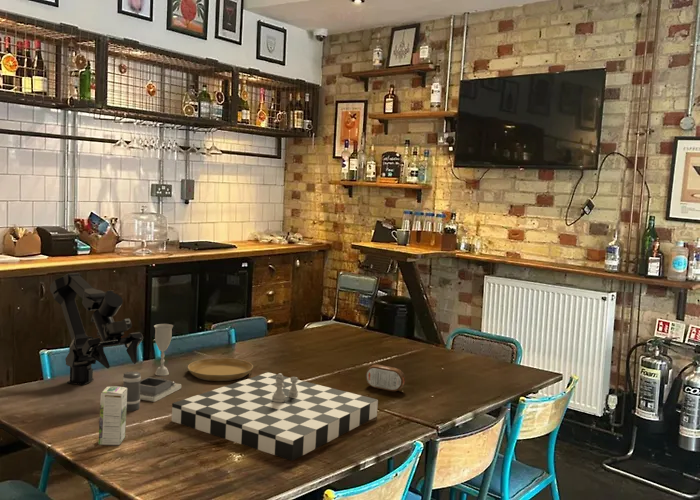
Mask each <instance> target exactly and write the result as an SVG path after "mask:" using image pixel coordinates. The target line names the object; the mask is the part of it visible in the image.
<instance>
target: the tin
mask: <svg viewBox="0 0 700 500" xmlns="http://www.w3.org/2000/svg"><path fill="white" fill-rule="evenodd" d="M364 377H365V380H366V381H365V382H367V384H368V385H369V386H370V387H371V388H375V389H379V390H385V391H389V392H398V391H400V390H401V389H403V388H404V386H405V384H406V376H405V373H404V372H403V371H402V370H401V369H400V368H397V367H392V366H388V365H387V366H386V365H383V364H376V363H375V364H372V365H371V366H369V367H368V368H367V369H366V371H365V376H364Z"/></svg>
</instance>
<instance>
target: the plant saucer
mask: <svg viewBox="0 0 700 500" xmlns="http://www.w3.org/2000/svg"><path fill="white" fill-rule="evenodd" d="M253 368H254V365H253V364H252V363H251V362H249V361H247V360H243V359H240V358H239V359H238V358H231V357H230V358H229V357H213V358H212V357H211V358H205V359H204V358H203V359H199V360H195V361H193V362H190V363H189V364H188V365H187V370H188V371H189V373H190V374H191V375H192V376H193V377H195V378H196V379H197V378H198V379H200V380H203V381H210V382H230V381H236V380H241V379H242V378H244V377H246V376H247V375H248V374H249V373H251V371H252V370H253Z"/></svg>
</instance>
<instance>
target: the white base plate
mask: <svg viewBox="0 0 700 500" xmlns="http://www.w3.org/2000/svg"><path fill="white" fill-rule="evenodd" d="M181 389H182V384H181V383H176V381H172V380H171V379H165V378H162V377H151V376H147V377H144V378H141V380H140V401H141V400H143V401H148V402H153V403H155V402H157V401H159V400H161V399H164V398H165V397H167V396H169V395H171V394H172V393H175V392H177V391H178V390H181Z"/></svg>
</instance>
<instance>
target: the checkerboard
mask: <svg viewBox="0 0 700 500" xmlns="http://www.w3.org/2000/svg"><path fill="white" fill-rule="evenodd" d="M378 404H379V399H377V398H373V397H369V396H365V395H361V394H356V393H354V392H349V391H344V390H340V389H338V388H333V387H329V386H324V385H320V384H316V383H313V382H309V381H308V382H307V381H305V380H300V379H299V377H297V376H291V377H289V376H284V375H283V373H281V372H280V373H278V374H276V373H272V372H265V373H261V374H258V375H256V376H253V377H248V378H247V379H243V380H239V381H237V382H234V383H231V384H227V385H224V386H221V387H219V388H215V389H211V390H210V391H206V392H203V393H200V394H196V395H193V396H190V397H187V398H185V399H181V400H179V401H178V400H177V401H175V402H172V404H171V406H172V407H171V422H173V423H177V424H178V425H183V426H186V427H189V428H191V429H195V430H198V431H201V432H204V433H207V434H209V435H213V436H216V437H219V438H221V439H225V440H228V441H230V442H234V443H237V444H240V445H242V446H247V447H249V448H252V449H255V450H257V451H261V452H264V453H267V454H270V455H272V456H273V455H274V456H276V457H279V458H282V459H286V460H289V461H292V462H293V461H294V460H297V459H298V458H301V457H302V456H304V455H307V454H308V453H310V452H312V451H314V450H315V449H318V448H319V447H321V446H323V445H326V444H327V443H329V442H331V441H333V440H335V439H336V438H338V437H339V438H340V436H342V435H344V434H346V433H348V432H350V431H352V430H354V429H355V428H357V427H359V426H362V425H363V424H366V423H367V422H369V421H370V420H373V419H374V418H377V416H378Z"/></svg>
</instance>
